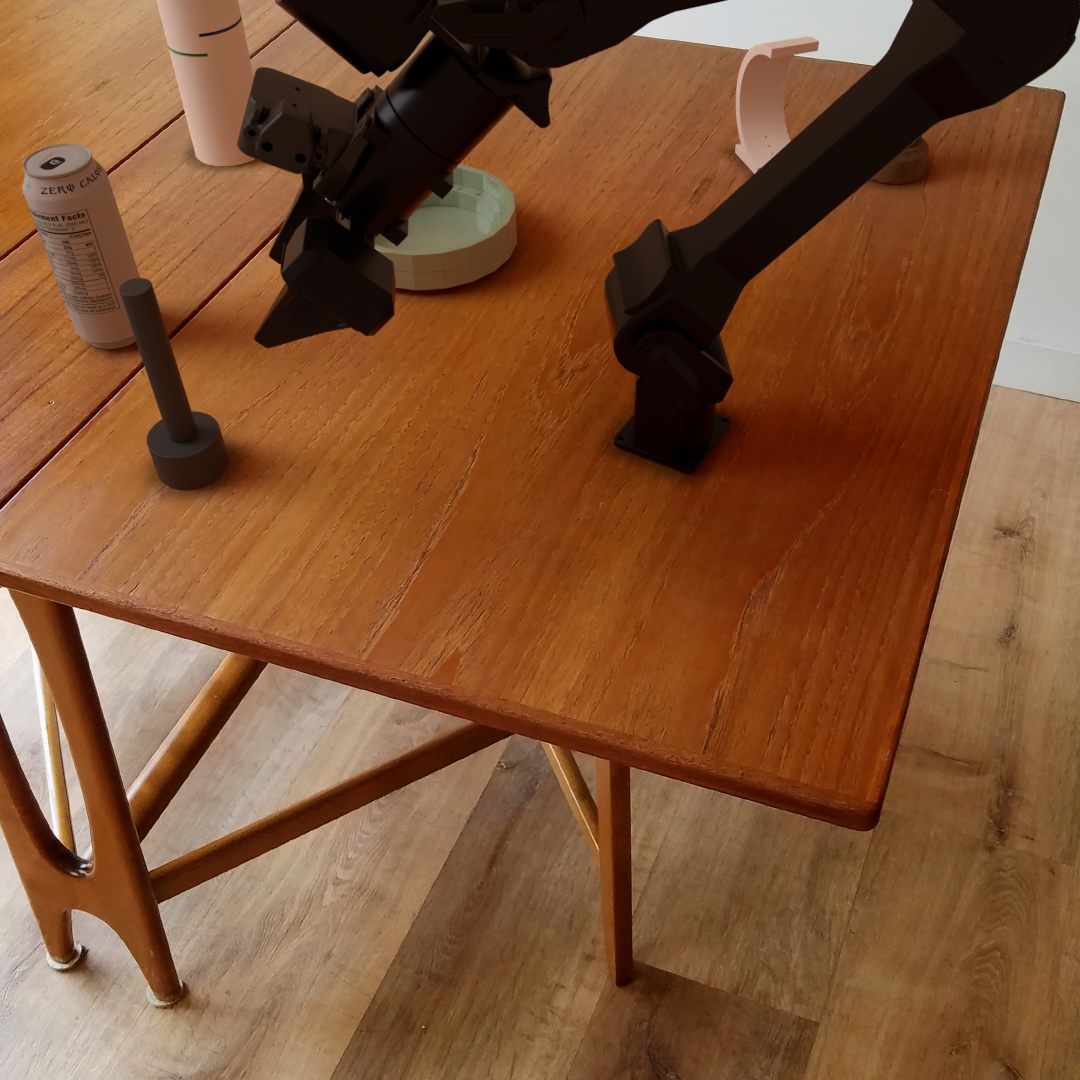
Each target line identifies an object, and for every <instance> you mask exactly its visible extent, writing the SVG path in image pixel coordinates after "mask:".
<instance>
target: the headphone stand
mask: <svg viewBox="0 0 1080 1080" xmlns="http://www.w3.org/2000/svg"><path fill="white" fill-rule="evenodd" d="M819 44H820V41H819V40H818V39H817V38H815V37H812V36H801V37H795V38H789V39H783V40H777V41H776V40H775V41H771V42H770V41H769V42H764V43H758V44H755V45H753V46H752V47H751V48H750V49H749V50H748V51H747V52H746V53H745V55H744V57H743V59H742V61H741V64H740V68H739V71H738V75H737V82H736V89H735V116H736V127H737V132H738V137H739V141H740V143H737V144H735V146H734V147H735V148H734V153H735V154H736V156H737V157H738V158H739V159H740V160H741V161H742V162H743V164H744V165H746V167H747V168H748V169H749V170H750V171H751V172H752V173H753V175H754V174H755V173H756V172H757V171H758V170H759V169H760V168H762V167H763V166H764V165H765V164H766V163H767V162H768V161H769V160H770V159H771V158H773V157H774V156H775V155H776V154H777V153H778V152H779V151H780V150H781V149H783V148H784V147H785V146H786V145H787V144H788V143H789V142H790V141H791V139H790V136H789V133H788V128H787V124H786V117H785V116H786V115H785V108H784V97H785V96H784V94H785V93H784V92H785V84H786V77H787V73H788V70H789V67H790V64H791V61H792V60H793V58H794V57H795V56H797V55H801V54H806V53H814V52H818V51H819V46H820V45H819Z"/></svg>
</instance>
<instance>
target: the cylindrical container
mask: <svg viewBox="0 0 1080 1080" xmlns="http://www.w3.org/2000/svg"><path fill="white" fill-rule="evenodd" d="M156 4H157V9H158V12H159V15H160V20H161V25H162V28H163V32H164V35H165V40H166V43H167V47H168V48H167V49H168V51H169V55H170V59H171V63H172V67H173V71H174V75H175V79H176V83H177V87H178V91H179V95H180V99H181V102H182V107H183V110H184V114H185V118H186V122H187V123H186V124H187V126H188V130H189V135H190V138H191V143H192V147H193V150H194V154H195V157H196V158H197V160H199V161H200V162H201V163H203V164H205V165H209V166H213V167H233V166H240V165H244V164H247V163H250V162H252V161H255V160H256V159H254V158H252V157H249V156H247V155H246V154H244V153H243V152H242V151H241V150H240V149H239V148H238V146H237V141H238V137H239V133H240V129H241V125H242V121H243V117H244V113H245V109H246V105H247V102H248V98H249V94H250V90H251V87H252V83H253V79H254V70H253V67H252V62H251V57H250V51H249V47H248V41H247V37H246V32H245V28H244V21H243V17H242V11H241V7H240V3H239V0H156Z"/></svg>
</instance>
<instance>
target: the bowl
mask: <svg viewBox="0 0 1080 1080" xmlns="http://www.w3.org/2000/svg"><path fill="white" fill-rule="evenodd" d="M453 186H454V188H453V189H452V190H451V191H450V192H449V193H448V194H447V195H446V196H445V197H444V198H443V199H441V198H440V197H438V196H437V195H436V194H435V193H432V194H431V195H430V196H429V197H428V198H427V199H426V200H425V201H424V202H423V203H422V204H421V206H420V207H419V208H418V209H417V210H416V211H415V212H414V213H413V214H412V215H411V216H410V217H409V218H408V236H407V237H406V238H405V239H404V240H403V241H402V242H401V243H400V244H399V245H398V246H396V245H394V244H393V243H391V242H390V241H389V240H387V239H386V238H385V237H383V236H382V235H381V234H379V235H378V236H377V237H375V249H376V250H377V251H379V252H380V253H381V254H383V255H384V256H386V257H387V258H388V259H390V260H391V261H392V262H393V264H394V272H395V280H396V288H395V289H401V290H402V289H403V290H411V291H428V290H429V291H431V290H445V289H449V288H454V287H458V286H461V285H467V284H470V283H472V282H473V283H474V282H476V281H478V280H479V279H481V278H484V277H486V276H488V275H490V274H492V273H494V272H496V271H497V270H498V269H499V268H500V267H501V266H502V265H503V264H505V263H506V262H507V261H508V260H509V259H510V258H511V257H512V254H513V253H514V251H515V249H516V246H517V244H518V230H517V211H516V210H517V209H516V208H517V207H516V198H515V193H514V192H513V190H511V188H510V186H508V185H507V183H506V182H505V181H504V180H503V179H501V178H499V177H497V176H496V175H494V174H493V173H491V172H489V171H487V170H483V169H480V168H476V167H473V166H469V165H467V164H461V163H460V164H459V165H458V166H457V167H456V168H455V169H454V170H453Z"/></svg>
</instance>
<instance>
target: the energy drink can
mask: <svg viewBox="0 0 1080 1080" xmlns="http://www.w3.org/2000/svg"><path fill="white" fill-rule="evenodd" d="M22 168H23V171H24V177H23V180H22V186H21V190H22V193H23V195H24V199H25V202H26V204H27V207H28V209H29V212H30V214H31V216H32V217H31V218H32V219H33V222H34V225H35V228H36V230H37V232H38V235H39V238H40V241H41V243H42V246H43V249H44V251H45V253H46V257H47V259H48V262H49V265H50V267H51V269H52V272H53V275H54V277H55V280H56V283H57V285H58V288H59V290H60V293H61V295H62V298H63V301H64V303H65V306H66V309H67V312H68V315H69V316H70V319H71V322H72V324H73V327H74V330H75V332H76V335H78V337H80V338H81V339H83V340H84V341H87V343H88V344H89V345H91V346H93V347H95V348H98V349H104V350H114V349H120V348H123V347H127V346H129V345H132V344H134V343H137V342H136V339H135V336H134V333H133V330H132V327H131V325H130V322H129V319H128V316H127V313H126V310H125V307H124V304H123V301H122V298H121V295H120V292H119V288H120V286H121V285H122V284H123V283H124V282H126V281H128V280H130V279H134V278H141V276H140V273H139V270H138V267H137V264H136V260H135V257H134V254H133V251H132V248H131V245H130V244H131V243H130V241H129V238H128V236H127V232H126V229H125V226H124V223H123V219H122V217H121V213H120V211H119V207H118V204H117V201H116V198H115V194H114V191H113V189H112V185H111V181H110V179H109V176H108V173H107V169H105V168H104V166H102V165H101V164H100V163H99V162H98V161H97V160H96V159H95V158H94V157H93V153H92V151H91V149H90V148H89V147H87V146H85V145H82V144H79V143H69V142H68V143H67V142H66V143H55V144H51V145H47V146H45V147H41V148H39V149H37V150H34V151H32V152H31V153H30V154H29V155H27V156H26V157H25V158H24V160H23V161H22Z"/></svg>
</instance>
